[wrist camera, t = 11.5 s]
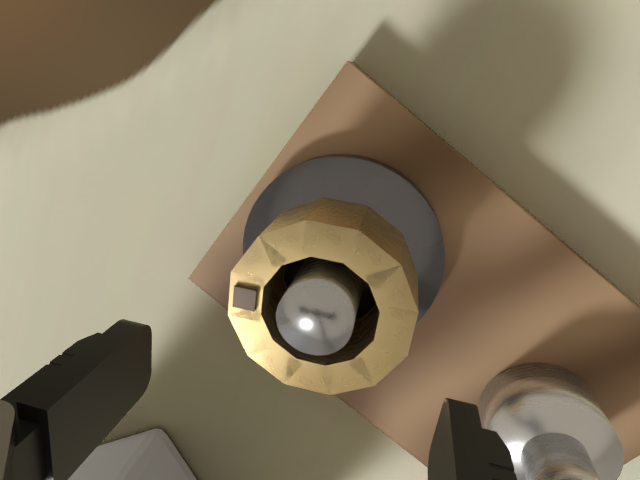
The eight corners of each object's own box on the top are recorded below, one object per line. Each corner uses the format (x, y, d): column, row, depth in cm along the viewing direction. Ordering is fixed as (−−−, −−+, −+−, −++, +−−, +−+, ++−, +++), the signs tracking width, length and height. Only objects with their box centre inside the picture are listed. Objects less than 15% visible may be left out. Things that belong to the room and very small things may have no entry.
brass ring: (431, 217, 16) (435, 246, 13) (396, 361, 19) (393, 414, 16) (264, 185, 17) (233, 207, 14) (250, 327, 20) (222, 371, 17)
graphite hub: (488, 244, 19) (521, 319, 13) (356, 369, 23) (335, 472, 17) (327, 109, 19) (286, 123, 13) (216, 257, 22) (142, 323, 16)
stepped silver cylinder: (622, 411, 21) (707, 547, 15) (533, 469, 23) (577, 609, 17) (538, 341, 20) (590, 451, 14) (455, 406, 22) (471, 526, 16)
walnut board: (717, 373, 21) (740, 394, 19) (505, 508, 26) (510, 532, 24) (352, 62, 19) (347, 61, 18) (201, 266, 24) (188, 278, 23)
